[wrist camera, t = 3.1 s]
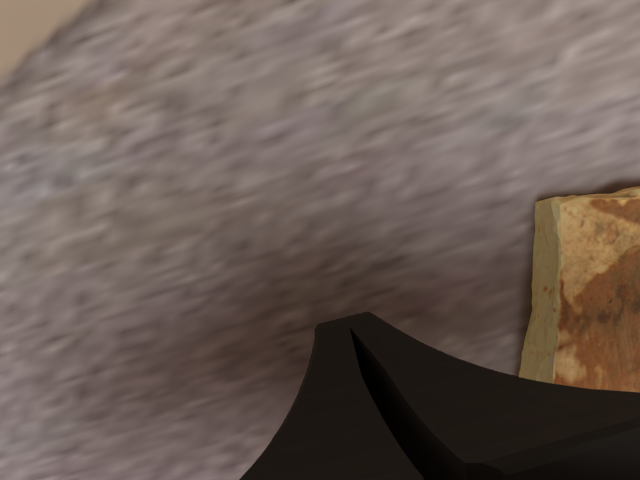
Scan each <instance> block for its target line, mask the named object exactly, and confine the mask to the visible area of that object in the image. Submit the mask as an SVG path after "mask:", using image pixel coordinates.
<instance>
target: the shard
mask: <svg viewBox="0 0 640 480" xmlns="http://www.w3.org/2000/svg"><path fill="white" fill-rule="evenodd" d="M534 220H535V237H534V248H533V276H532V284H531V288H532V301H531V303H532V312H531V316H530V322H529V325H528V329H527V333H526V337H525V341H524V346H523V350H522V354H521V355H522V361H521V369H520V372H519V376H518V377H522V378H526V379H531V380H536V381H541V382H547V383H552V384H559V385H566V386H573V387H580V388H588V389H600V390H614V391H628V392H640V186H638V187H631V188H626V189H622V190H619V191H617V192H615V193H612V194H589V195H582V196H576V195H570V196H567V197H559V196H557V197H553V198H549V199H545V200H541V201H537V202H536V203H535V217H534Z"/></svg>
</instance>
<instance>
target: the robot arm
mask: <svg viewBox="0 0 640 480" xmlns="http://www.w3.org/2000/svg"><path fill="white" fill-rule="evenodd" d="M240 480H640V392H628V391H614V390H600V389H588V388H580V387H573V386H566V385H559V384H552V383H547V382H541V381H536V380H531V379H526V378H522V377H518V376H513V375H509V374H505V373H501V372H497V371H494V370H490V369H487V368H483V367H481V366H478V365H475V364H472V363H469V362H466V361H463V360H460V359H457V358H455V357H452V356H450V355H447V354H445V353H443V352H441V351H439V350H436V349H434V348H432V347H430V346H428V345H426V344H424V343H422V342H420V341H418V340H416V339H414V338H412V337H410V336H408V335H407V334H405V333H403V332H401V331H400V330H398V329H396V328H395V327H393V326H391V325H390V324H388V323H386V322H385V321H383V320H382V319H380V318H378V317H377V316H375V315H374V314H372V313H370V312H369V311H368V312H364V313H360V314H356V315H353V316H349V317H345V318H341V319H337V320H333V321H329V322H325V323H321V324H318V325H317V327H316V328H315V340H314V346H313V350H312V355H311V358H310V361H309V365H308V368H307V372H306V374H305V377H304V380H303V382H302V385H301V387H300V390H299V392H298V395H297V397H296V399H295V401H294V403H293V405H292V407H291V409H290V411H289V413H288V415H287V416H286V418H285V420H284V422H283V424H282V425H281V427H280V428H279V430H278V431H277V433H276V434H275V436H274V438H273V439H272V441H271V442H270V444H269V445H268V447H267V448H266V449H265V451H264V452H263V453H262V454H261V456H260V457H259V458H258V459H257V460H256V462H255V463H254V464H253V465H252V466H251V468H250V469H249V470H248V471H247V472H246V473H245V474H244V475H243V476H242V477H241V479H240Z"/></svg>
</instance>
